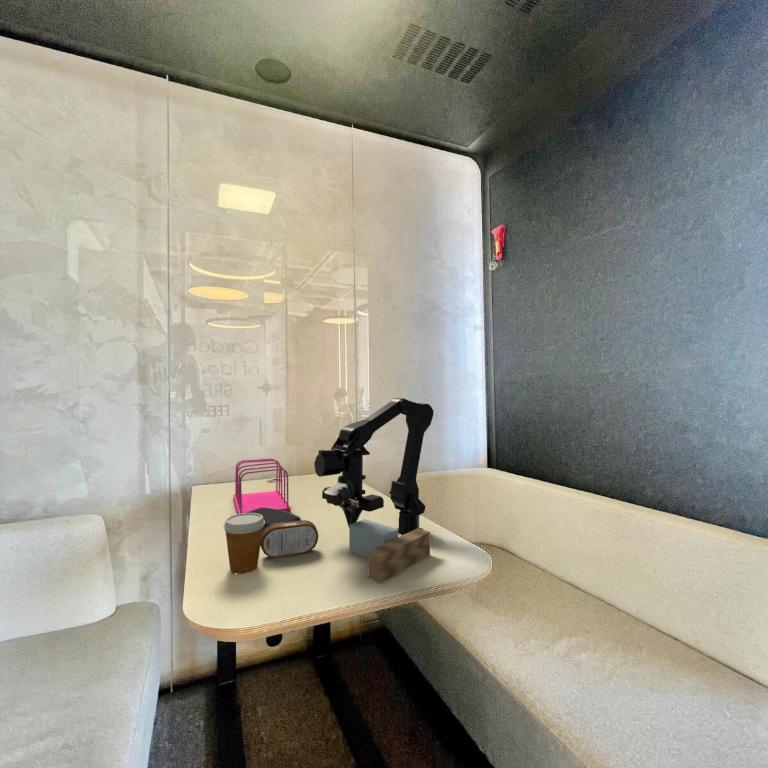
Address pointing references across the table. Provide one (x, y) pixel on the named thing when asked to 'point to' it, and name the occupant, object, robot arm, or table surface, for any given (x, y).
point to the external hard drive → (275, 516)
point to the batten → (398, 554)
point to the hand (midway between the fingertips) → (351, 528)
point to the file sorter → (260, 498)
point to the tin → (289, 538)
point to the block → (369, 536)
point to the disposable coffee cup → (244, 541)
